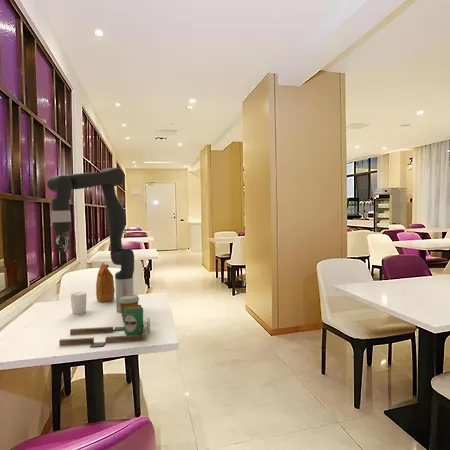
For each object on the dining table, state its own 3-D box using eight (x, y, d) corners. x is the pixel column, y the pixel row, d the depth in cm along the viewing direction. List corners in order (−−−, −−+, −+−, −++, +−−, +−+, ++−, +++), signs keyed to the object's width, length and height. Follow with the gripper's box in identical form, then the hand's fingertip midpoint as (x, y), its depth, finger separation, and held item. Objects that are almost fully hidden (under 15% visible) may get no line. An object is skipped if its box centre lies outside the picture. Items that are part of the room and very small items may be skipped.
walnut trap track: (74, 330, 161) (73, 319, 161) (151, 326, 164) (150, 315, 164) (55, 349, 139) (55, 336, 139) (144, 344, 142) (143, 331, 142)
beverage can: (121, 337, 151) (120, 309, 150) (129, 330, 159) (128, 303, 158) (139, 337, 150) (138, 309, 149) (146, 331, 157) (145, 304, 157)
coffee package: (111, 296, 222) (110, 261, 221) (116, 300, 212) (114, 263, 210) (95, 298, 218) (93, 263, 217) (98, 303, 207) (96, 265, 206)
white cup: (87, 313, 188) (86, 294, 187) (71, 315, 185) (70, 296, 184) (87, 309, 195) (86, 291, 195) (71, 311, 192) (70, 292, 192)
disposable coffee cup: (143, 319, 175) (142, 294, 174) (133, 325, 166) (132, 299, 165) (126, 318, 178) (125, 294, 177) (115, 324, 168) (114, 298, 168)
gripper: (64, 221, 152) (67, 262, 153) (75, 220, 165) (77, 257, 166) (46, 221, 151) (48, 262, 152) (58, 220, 164) (60, 258, 165)
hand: (63, 260), depth 159 cm, fingers closed
